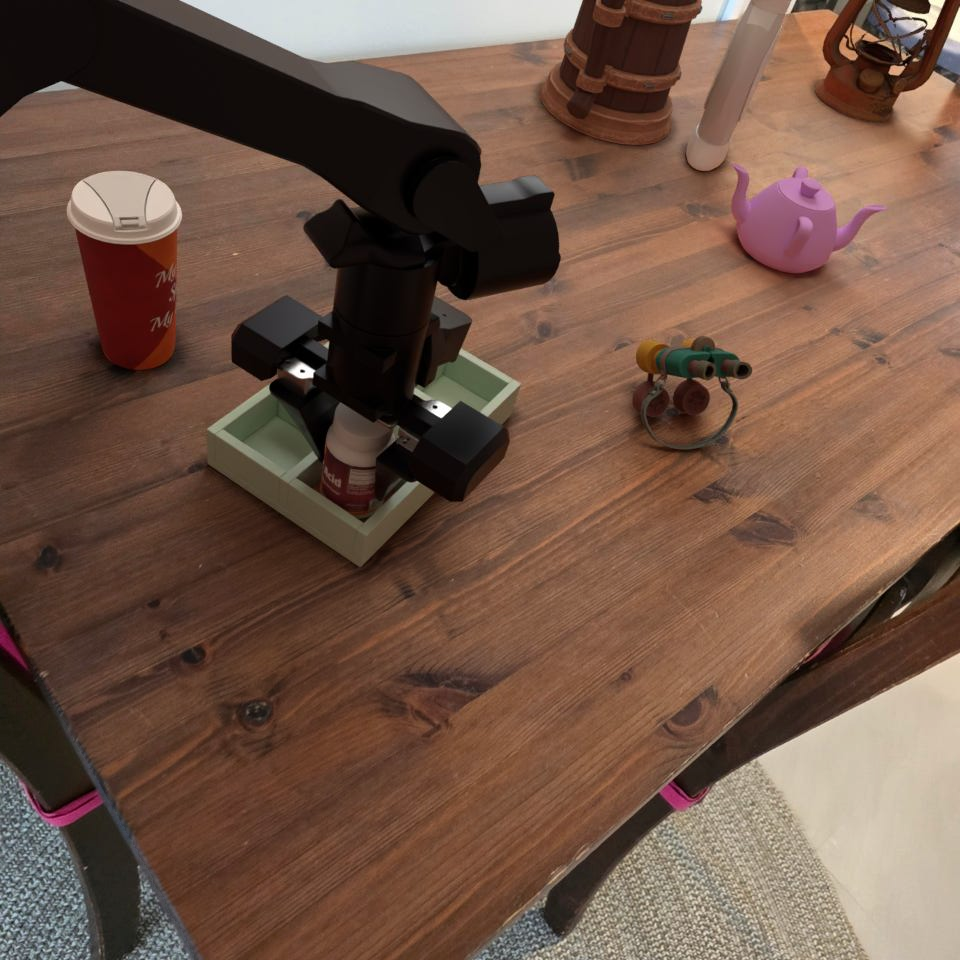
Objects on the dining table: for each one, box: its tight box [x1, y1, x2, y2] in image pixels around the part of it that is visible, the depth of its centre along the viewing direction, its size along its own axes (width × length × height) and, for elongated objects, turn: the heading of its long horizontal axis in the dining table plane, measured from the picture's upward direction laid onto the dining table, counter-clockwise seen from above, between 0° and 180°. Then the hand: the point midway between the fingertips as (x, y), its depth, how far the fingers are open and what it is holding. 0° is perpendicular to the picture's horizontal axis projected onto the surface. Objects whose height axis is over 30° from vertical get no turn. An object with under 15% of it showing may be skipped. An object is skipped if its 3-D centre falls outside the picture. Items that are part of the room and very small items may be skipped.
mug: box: [539, 0, 703, 146], centre depth 111 cm, size 18×23×20 cm
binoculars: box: [631, 335, 753, 450], centre depth 76 cm, size 9×9×10 cm
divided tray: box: [206, 341, 522, 568], centre depth 70 cm, size 14×21×4 cm
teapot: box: [730, 162, 888, 274], centre depth 101 cm, size 12×14×9 cm
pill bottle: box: [320, 402, 395, 519], centre depth 62 cm, size 5×5×8 cm
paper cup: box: [66, 170, 183, 371], centre depth 68 cm, size 8×8×14 cm
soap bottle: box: [685, 0, 793, 172], centre depth 108 cm, size 13×8×24 cm, turn 157°
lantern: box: [814, 0, 960, 124], centre depth 130 cm, size 17×13×30 cm
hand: (354, 478), depth 63 cm, fingers closed on pill bottle, 5 cm apart
